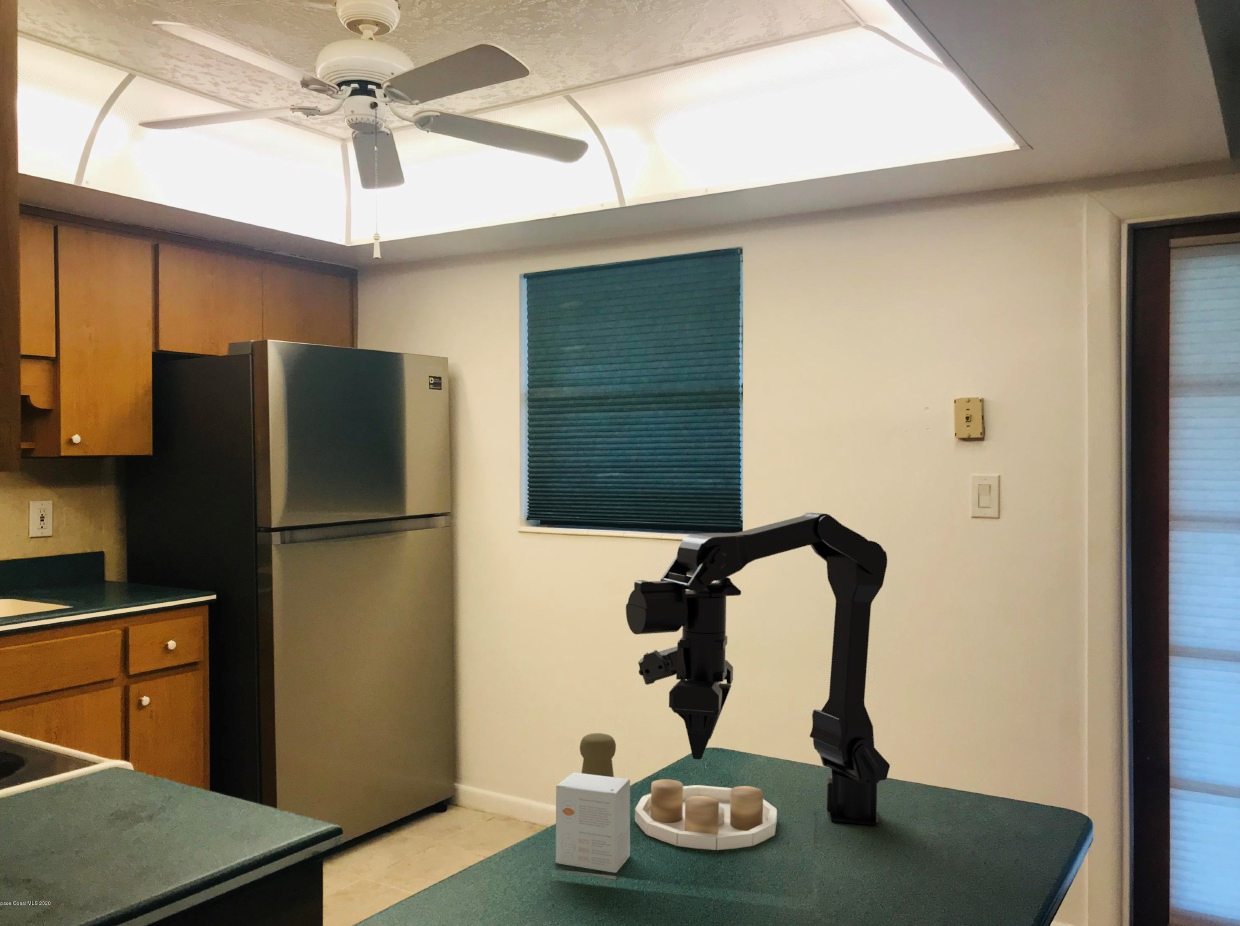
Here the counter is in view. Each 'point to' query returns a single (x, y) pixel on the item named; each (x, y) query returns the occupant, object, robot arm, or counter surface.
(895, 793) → the counter surface
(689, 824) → the bead
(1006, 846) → the counter surface
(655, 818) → the bead
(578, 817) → the small box
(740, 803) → the tan rounded piece
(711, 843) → the tray
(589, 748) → the cork
